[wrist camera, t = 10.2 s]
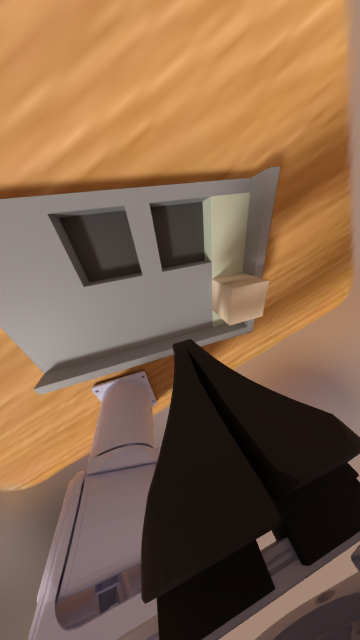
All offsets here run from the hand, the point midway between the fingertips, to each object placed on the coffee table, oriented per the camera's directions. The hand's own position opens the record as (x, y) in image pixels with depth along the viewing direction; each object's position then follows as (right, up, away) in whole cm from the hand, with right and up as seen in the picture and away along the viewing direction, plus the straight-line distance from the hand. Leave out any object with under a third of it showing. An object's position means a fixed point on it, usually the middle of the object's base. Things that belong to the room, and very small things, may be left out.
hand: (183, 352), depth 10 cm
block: (+6, +6, +8) cm, 11 cm away
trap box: (-5, +6, +7) cm, 10 cm away
